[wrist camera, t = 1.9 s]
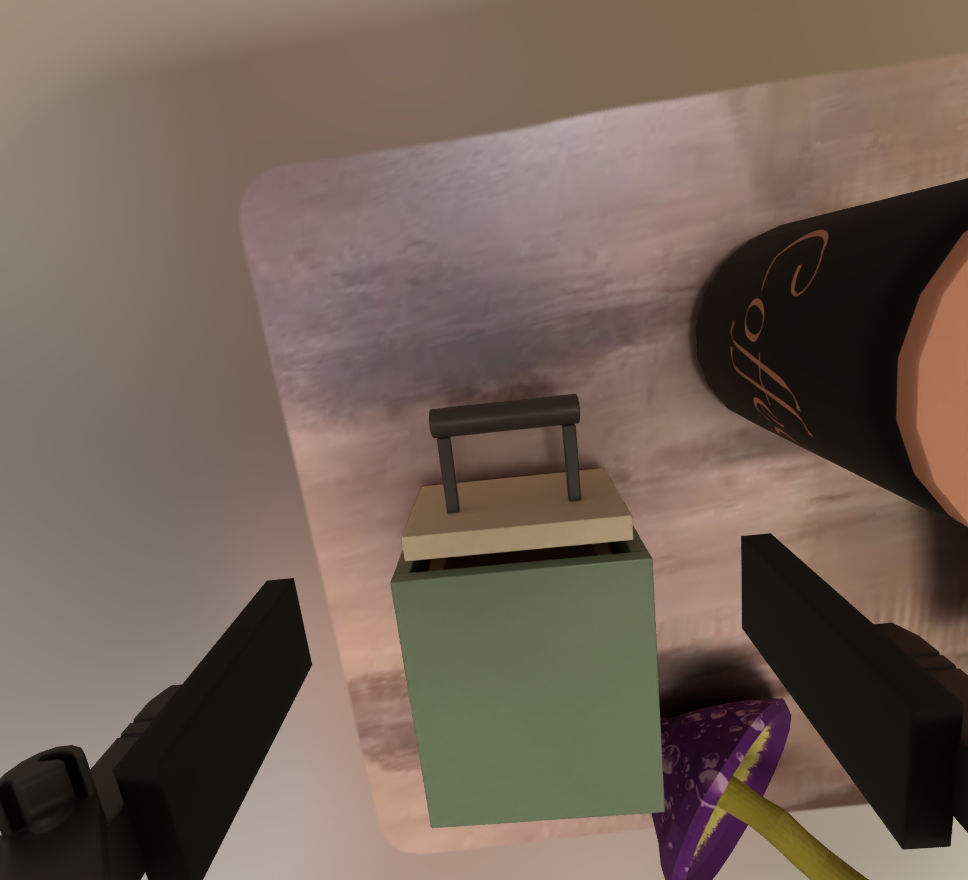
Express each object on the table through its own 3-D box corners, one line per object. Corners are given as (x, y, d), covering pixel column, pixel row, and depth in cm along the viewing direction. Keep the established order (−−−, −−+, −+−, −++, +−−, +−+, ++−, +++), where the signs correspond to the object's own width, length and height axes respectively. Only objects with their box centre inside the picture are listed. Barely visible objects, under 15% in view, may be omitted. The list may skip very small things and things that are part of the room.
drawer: (408, 397, 32) (383, 426, 25) (597, 376, 32) (625, 400, 25) (449, 675, 36) (437, 767, 29) (616, 661, 36) (645, 751, 29)
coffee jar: (698, 221, 30) (965, 122, 13) (905, 224, 30) (1461, 127, 13) (678, 421, 33) (878, 562, 16) (869, 425, 33) (1290, 573, 15)
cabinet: (417, 509, 35) (389, 582, 26) (613, 490, 34) (652, 558, 25) (447, 704, 38) (431, 828, 29) (626, 690, 37) (665, 812, 28)
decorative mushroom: (931, 950, 21) (598, 695, 31) (828, 1131, 25) (565, 856, 35) (990, 765, 29) (711, 611, 39) (904, 926, 33) (673, 750, 44)
